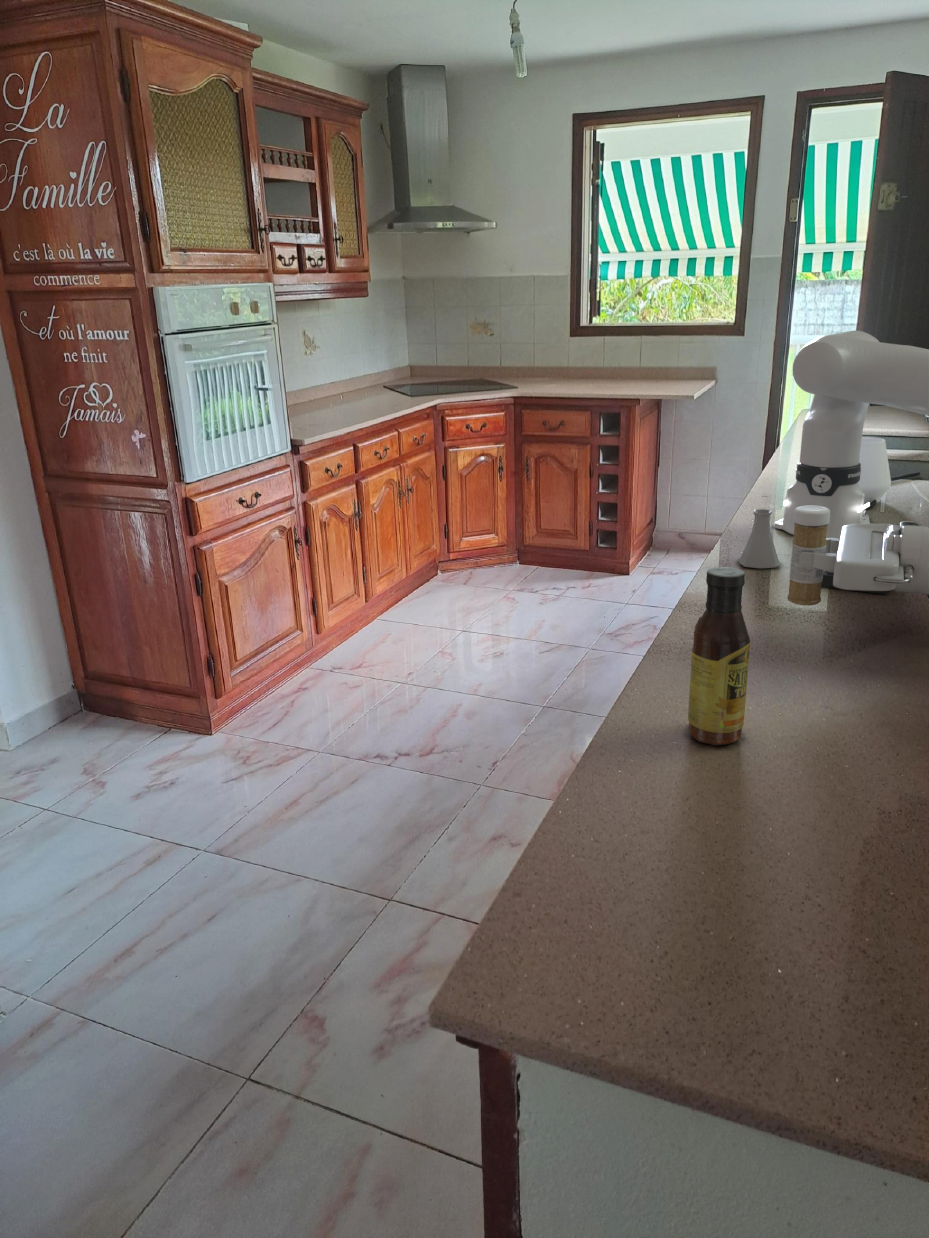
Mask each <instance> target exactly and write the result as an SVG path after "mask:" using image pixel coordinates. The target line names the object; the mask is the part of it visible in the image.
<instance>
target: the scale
mask: <svg viewBox="0 0 929 1238" xmlns="http://www.w3.org/2000/svg"><path fill="white" fill-rule="evenodd" d="M833 577H834V572H833V571H824V572H823V580H822V585H821V588H827V589H835V590H841V591H845V590H844V589H840V588H837V587H834V586H833ZM849 591H851V592H859V593H866V594H875V595H883V596H884V595H886V593H887V591H860V590H849Z"/></svg>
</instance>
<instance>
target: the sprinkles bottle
mask: <svg viewBox="0 0 929 1238" xmlns="http://www.w3.org/2000/svg"><path fill="white" fill-rule="evenodd" d="M829 520H830V510H829V509H828V508H826V507H822V506H800V507H797V508H796V509H795V511H794V522H795V523H794V525H795V526H794V535H793V537H792V548H791V557H790V567H789V583H788V594H787V597H786V598H787V600H788V602H789V603H791V604H794V605H798V606H816V605H818V604H819V603H821V601H822V597H821V596H822V595H821V594H822V587H821V585H822V580H823V572H824V570H821V569H818V568H815V567H813V566H802V565H800V564H799V558H800V553H801V552H802V551H803V550H806V551H815V552H814V553H822V554H827V553H826V537H827V527H828V523H829Z"/></svg>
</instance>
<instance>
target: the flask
mask: <svg viewBox="0 0 929 1238" xmlns="http://www.w3.org/2000/svg"><path fill="white" fill-rule="evenodd" d="M772 513H773V511H772V510H770V509H765V508H758V509H754V510H753V512H752V514H753V515H754V521H753V525H752V526H753V527H752V528H751V532H750V534H749V537H748V538H747V539H748V540H747V541H746V544H745V546H744V549H743V551H742V553H741V555H740V557H739V559H738V563H739V564H740V565H742V566H743V567H744V568H745V567H746V568H754V569H771V568H777V567H778V565H779V564H780V561H779V556H778V554H777V551H776V546H775V544H774V540H773V536H772V532H771V524H770V523H771V522H770V520H771V515H772Z"/></svg>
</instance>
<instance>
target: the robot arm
mask: <svg viewBox="0 0 929 1238" xmlns="http://www.w3.org/2000/svg"><path fill="white" fill-rule="evenodd" d="M792 377H793V380H794V381H795V383H796V385H797V387H798V388H800V389H801V390H802V391H804V392H806V393H807V394H811V395H813V398H812V401H811V404H810V407H809V410H808V412H807V415H806V416H805V418H804V420H803V423H802V432H801V441H800V453H799V460H798V461H797V463H796V468H795V480H796V481H795V483H794V484H792V485H791V486H789V488H787V490H786V496H785V500H784V501H783V506H784V511H783V518H781V519H779V520H777V521H775V522H774V528H775V529H778V530H783V531H785V532H786V533H788V534H790V535H792V536H794V526H795V525H794V523H795V522H794V511H795V509H796V508H797V507H800V506H822V507H826V508H828V509H829V510H830V520H829V523H828V527H827V537H826V553H825V554H822V553H814V552H815V551H806V550H803V551H802V552H801V553H800V558H799V564H800V565H802V566H813V567H815V568H818V569H821V570H824V571H833V572H834V577H833V586H834V587H837V588H840V589H839V590H842V589H844V590H843V591H850V590H860V591H886V592H888V591H894V592H895V593H907V594H920V595H926V596H927V598H928V599H929V526H927V525H921V524H920V523H918V522H917V521H912V520H902V521H900V522H899V525H897V524H894V523H871V521H870V520H871V519H870V516H869V515H868V514H867V511H869V510H870V509H871V508H873V507H875V506H876V505H877V503H878V502H877V501H876V500H873V501H872V503H867V504H864V497H865V494H863V491H862V490H861V489H860V486H859V483H858V482H859V481H860V474H861V464H860V463H859V458H860V450H861V441H862V437H863V433H864V426H865V420H866V417H867V413H868V409H869V406H870V405H871V404H872V405H878V406H879V405H880V406H885V407H890V408H893V409H900V410H903V411H908V412H911V413H916V414H920V415H924V416H928V417H929V348H928V349H927V348H923V347H918V346H913V345H908V344H906V345H905V344H896V343H888V342H880V341H879V339H878V338H876V337H875V336H873V335H872V334H870V333H867V332H865V331H862V330H848V331H841V332H836V333H831V334H825V335H821V336H818V337H816V338H814V339H813V340H810V341H809V342H808V343H806V344H805V345H804V346H803V347H802V348H801V349H800V350H799V351H798V352H797V354H796V356H795V358H794V360H793V363H792ZM920 475H921V472H920V471H916V472H911V473H905V474H901V475H897V476H892V477H890V478H891V482H894V481H899V480H902V479H903V480H904V479H908V478H912V477H917V476H920Z"/></svg>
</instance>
